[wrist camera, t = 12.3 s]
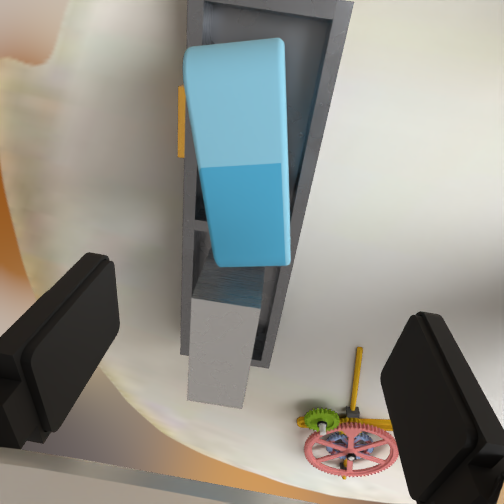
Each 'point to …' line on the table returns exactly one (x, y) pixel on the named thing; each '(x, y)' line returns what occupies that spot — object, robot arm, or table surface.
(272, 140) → the data package
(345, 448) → the mechanical gear assembly
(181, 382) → the table surface
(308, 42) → the rack
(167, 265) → the table surface
